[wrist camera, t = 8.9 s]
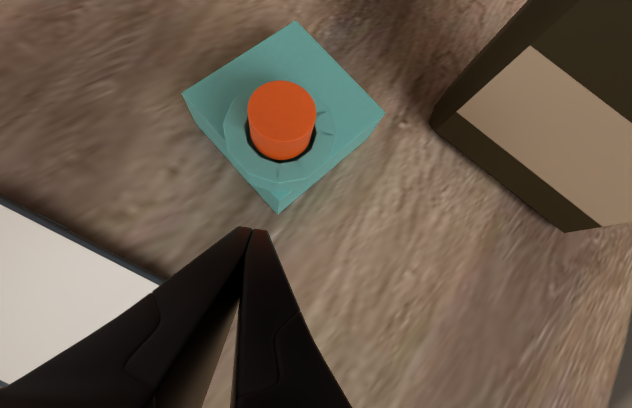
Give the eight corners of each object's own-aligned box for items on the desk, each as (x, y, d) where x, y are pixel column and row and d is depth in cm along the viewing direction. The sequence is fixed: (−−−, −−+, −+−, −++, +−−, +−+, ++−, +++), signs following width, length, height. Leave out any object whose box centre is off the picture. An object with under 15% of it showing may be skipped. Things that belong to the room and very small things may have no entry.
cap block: (274, 224, 23) (275, 204, 17) (188, 127, 23) (161, 78, 18) (371, 140, 26) (401, 100, 20) (291, 57, 26) (298, -5, 21)
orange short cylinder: (277, 172, 18) (279, 155, 15) (237, 128, 18) (232, 104, 16) (322, 136, 19) (330, 115, 16) (283, 95, 19) (285, 68, 17)
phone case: (194, 290, 21) (-22, 180, 20) (188, 291, 19) (-45, 172, 19) (113, 426, 19) (-135, 305, 18) (99, 439, 17) (-173, 308, 16)
